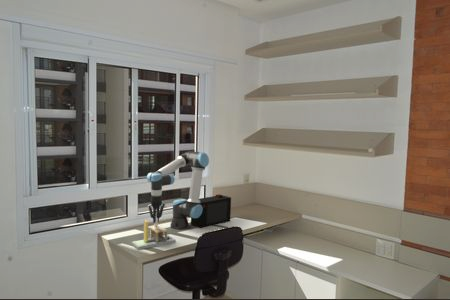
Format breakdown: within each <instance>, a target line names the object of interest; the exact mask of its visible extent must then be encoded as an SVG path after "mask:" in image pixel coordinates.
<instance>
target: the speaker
mask: <svg viewBox="0 0 450 300" xmlns="http://www.w3.org/2000/svg"><path fill="white" fill-rule="evenodd" d="M199 201H200V202H201V203H200V205H201V206H202V208H203V211H202V214H201V215H200V216H199V217H198V218H191V217H190V225H191V226H193V227H196V228H198V229H204V228H208V227H211V226H212V227H213V226H216V225H220V224H225V223H229V222H231V214H232V213H231V210H232V209H231V208H232V197H230V196H226V195H223V194H215V195H214V196H206V197H202V198H201V197H199Z"/></svg>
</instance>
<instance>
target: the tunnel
mask: <svg viewBox="0 0 450 300" xmlns="http://www.w3.org/2000/svg"><path fill="white" fill-rule="evenodd" d="M154 231H155V232H156V243H158V233H160V232H163V233H164V236H165V242H166V241H167V235H168V229H166V228H165V227H163V226H162V225H158V227H157V228H155V227H154V226H150V227H149V238H150V239H151V237H153V236H154Z"/></svg>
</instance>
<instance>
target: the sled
mask: <svg viewBox="0 0 450 300" xmlns="http://www.w3.org/2000/svg"><path fill="white" fill-rule="evenodd" d="M143 240H144V242H149V241H155V242H156V238H155V237H154V236H153V237H151V239H149V221H148V220H143ZM161 240H165V238H164V237H162V238H158V241H161Z"/></svg>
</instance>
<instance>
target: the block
mask: <svg viewBox="0 0 450 300" xmlns="http://www.w3.org/2000/svg"><path fill="white" fill-rule="evenodd" d="M163 236H164V232H160V233H158V238H162V237H163ZM154 237H155V238H156V232H155V231H154Z"/></svg>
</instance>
